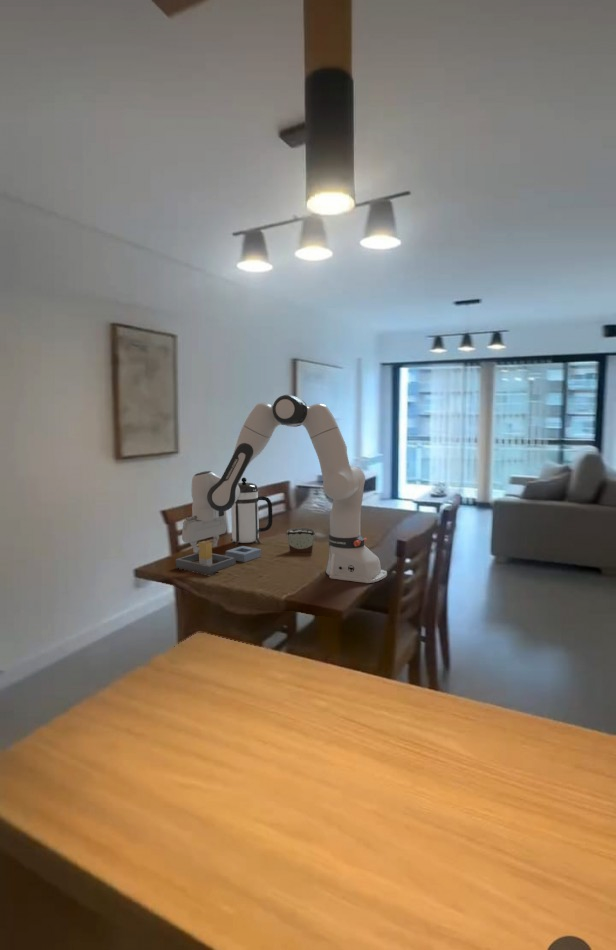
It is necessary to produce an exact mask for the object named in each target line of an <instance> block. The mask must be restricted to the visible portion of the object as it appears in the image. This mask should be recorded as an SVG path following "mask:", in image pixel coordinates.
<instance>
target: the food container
mask: <svg viewBox="0 0 616 950" xmlns="http://www.w3.org/2000/svg"><path fill="white" fill-rule="evenodd" d="M285 536H287V543H288V550H289V552H290V553H308V554H313V552H314V551H313V549H314V540H315V537H316V532H315V530H314V529H313V528H309V527H308V528H307V527H294V528H290V529H288V530H286V534H285Z"/></svg>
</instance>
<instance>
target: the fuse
mask: <svg viewBox="0 0 616 950" xmlns="http://www.w3.org/2000/svg"><path fill="white" fill-rule="evenodd" d="M212 542H213V541H205V540H203V541H198V547H199V560H198V563H201V564H205V565H212V564H213V561H212V553H213V547H212Z"/></svg>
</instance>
